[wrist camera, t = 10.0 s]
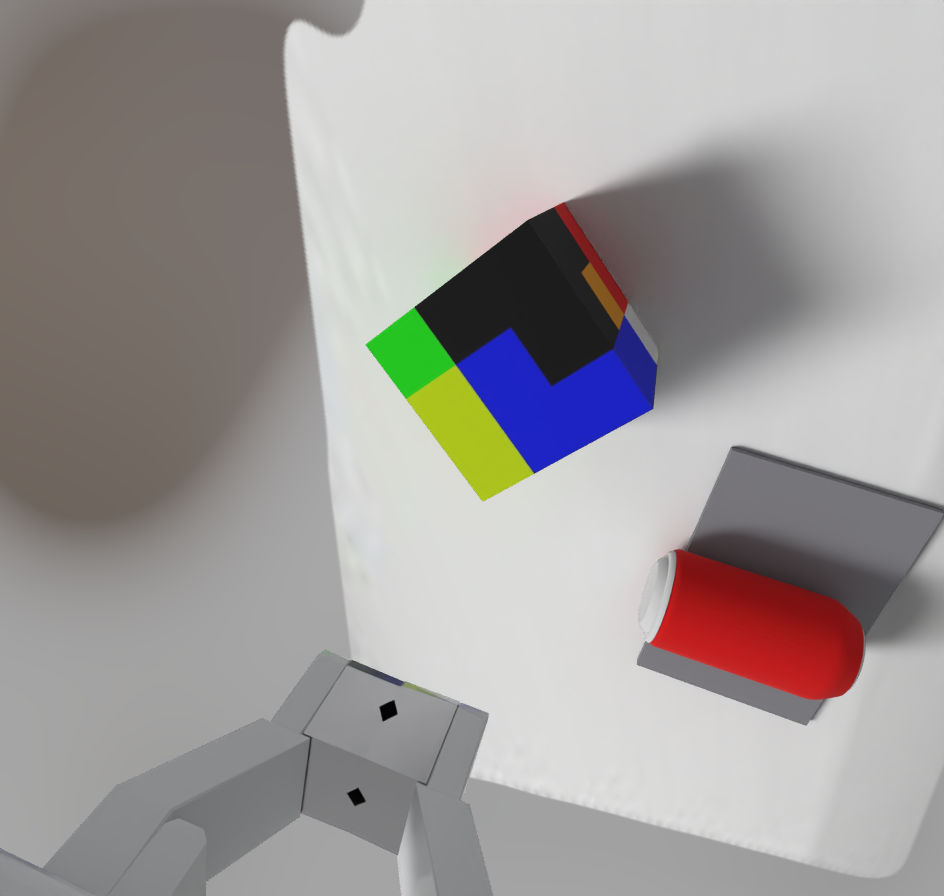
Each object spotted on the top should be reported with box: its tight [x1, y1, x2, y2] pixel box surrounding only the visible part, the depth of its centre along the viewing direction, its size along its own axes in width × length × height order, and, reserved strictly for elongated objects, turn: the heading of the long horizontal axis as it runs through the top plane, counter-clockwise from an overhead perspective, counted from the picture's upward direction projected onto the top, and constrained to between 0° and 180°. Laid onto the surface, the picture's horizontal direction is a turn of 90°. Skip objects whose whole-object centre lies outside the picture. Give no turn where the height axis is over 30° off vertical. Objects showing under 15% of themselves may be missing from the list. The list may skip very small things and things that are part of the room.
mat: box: [637, 447, 944, 725], centre depth 42 cm, size 18×12×1 cm, turn 168°
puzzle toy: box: [366, 202, 659, 501], centre depth 35 cm, size 10×10×10 cm
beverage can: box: [638, 550, 865, 700], centre depth 40 cm, size 6×6×12 cm
